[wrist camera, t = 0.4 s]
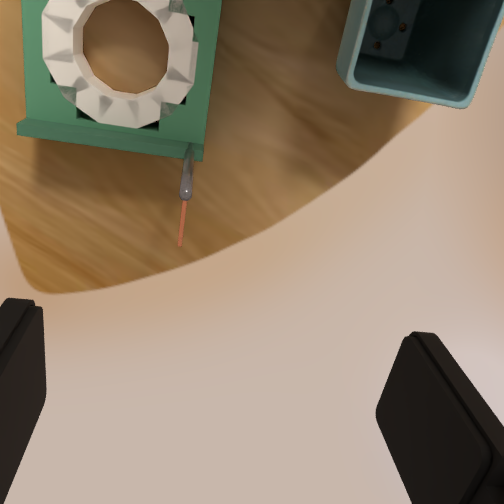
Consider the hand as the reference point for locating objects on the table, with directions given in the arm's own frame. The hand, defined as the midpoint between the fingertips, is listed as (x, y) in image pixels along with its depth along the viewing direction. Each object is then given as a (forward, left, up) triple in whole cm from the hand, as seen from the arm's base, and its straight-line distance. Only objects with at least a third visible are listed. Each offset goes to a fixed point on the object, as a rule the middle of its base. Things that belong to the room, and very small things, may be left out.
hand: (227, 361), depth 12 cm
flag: (+3, -1, -29) cm, 29 cm away
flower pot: (-10, +12, -30) cm, 33 cm away
